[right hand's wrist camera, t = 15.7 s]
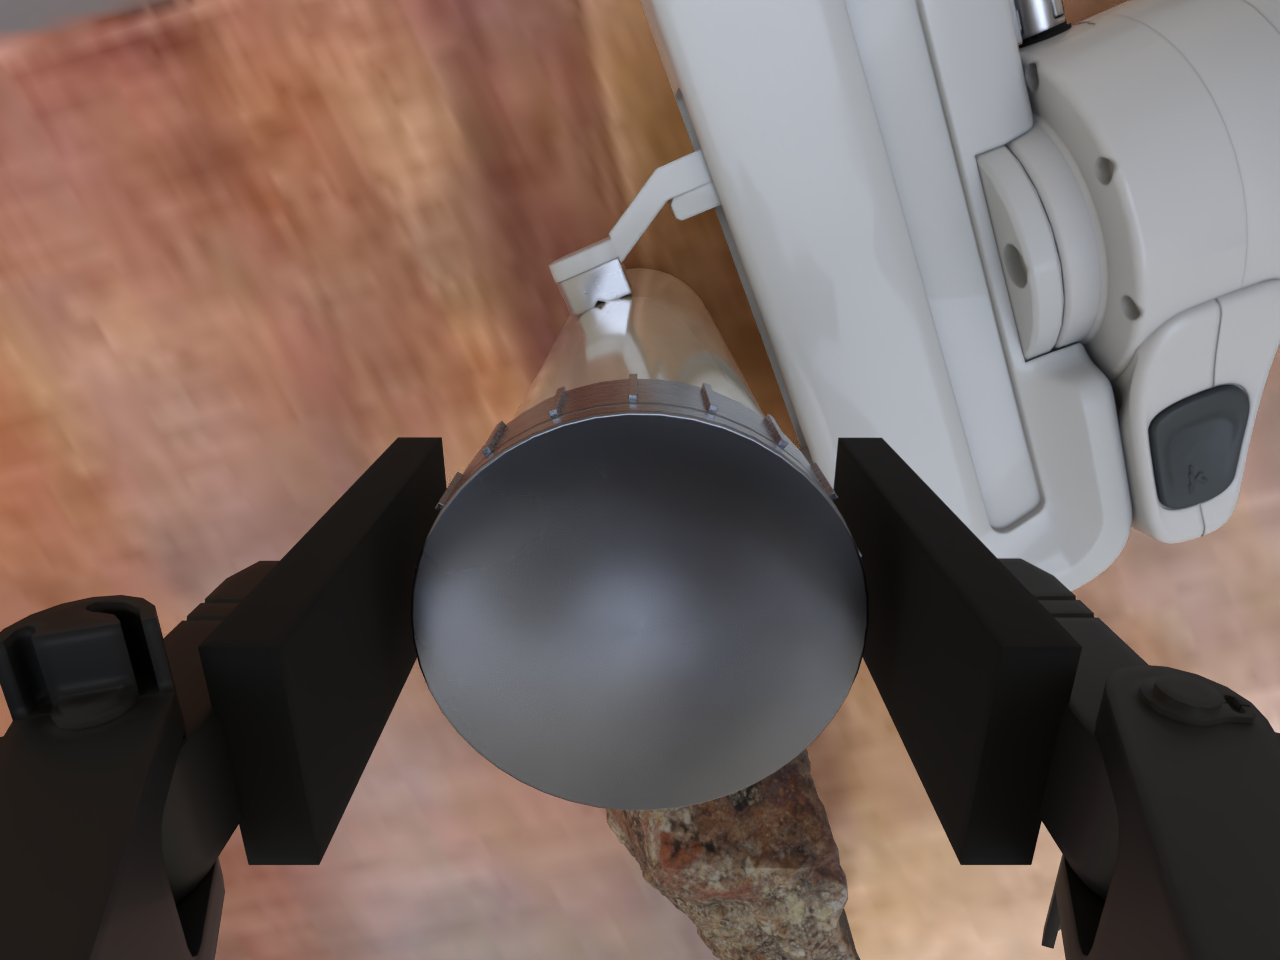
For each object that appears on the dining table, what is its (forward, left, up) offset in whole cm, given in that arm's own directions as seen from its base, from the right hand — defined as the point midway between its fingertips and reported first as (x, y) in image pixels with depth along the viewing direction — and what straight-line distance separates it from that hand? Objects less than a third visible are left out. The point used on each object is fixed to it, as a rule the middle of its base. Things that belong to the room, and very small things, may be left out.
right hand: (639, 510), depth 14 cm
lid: (0, 0, +4) cm, 4 cm away
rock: (-4, -19, -15) cm, 25 cm away
